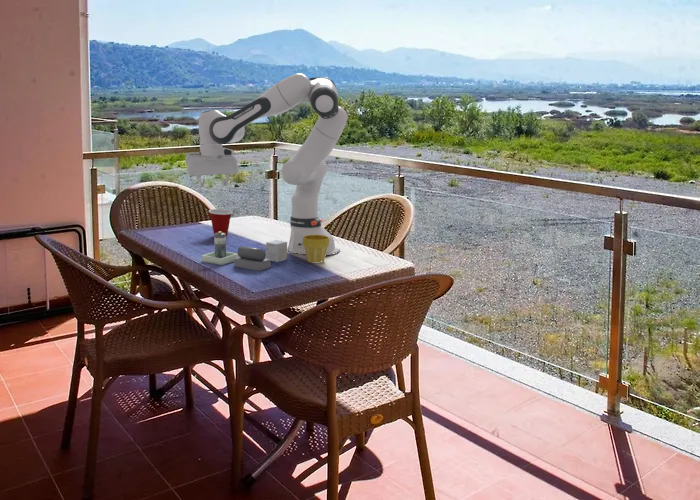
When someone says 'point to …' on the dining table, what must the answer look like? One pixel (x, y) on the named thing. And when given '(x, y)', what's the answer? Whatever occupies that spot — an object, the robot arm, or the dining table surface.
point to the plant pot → (315, 247)
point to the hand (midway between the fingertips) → (213, 186)
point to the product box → (276, 250)
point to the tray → (220, 261)
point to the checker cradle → (252, 258)
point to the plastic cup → (220, 220)
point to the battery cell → (220, 244)
